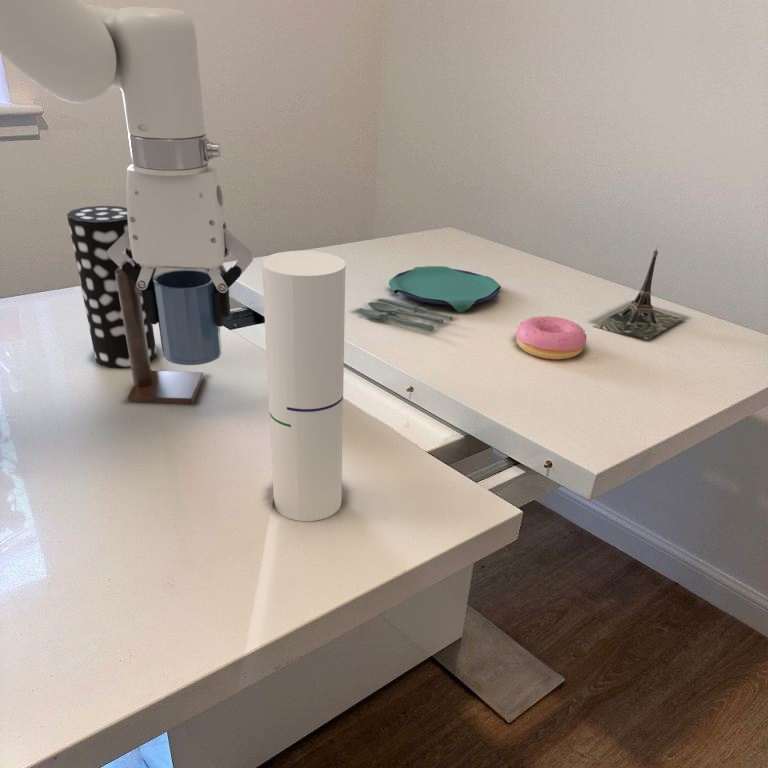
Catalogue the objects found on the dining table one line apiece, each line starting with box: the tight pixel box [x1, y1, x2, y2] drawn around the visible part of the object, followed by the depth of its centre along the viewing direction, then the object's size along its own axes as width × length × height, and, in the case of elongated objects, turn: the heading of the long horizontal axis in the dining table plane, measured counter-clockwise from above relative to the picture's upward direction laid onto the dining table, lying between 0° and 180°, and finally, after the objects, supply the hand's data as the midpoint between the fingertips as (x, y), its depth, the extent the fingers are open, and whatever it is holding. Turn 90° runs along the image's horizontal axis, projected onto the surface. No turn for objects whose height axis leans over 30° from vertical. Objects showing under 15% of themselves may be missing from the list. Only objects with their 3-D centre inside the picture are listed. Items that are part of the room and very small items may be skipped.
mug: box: [152, 269, 223, 366], centre depth 85 cm, size 11×7×9 cm, turn 1°
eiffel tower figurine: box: [592, 244, 686, 340], centre depth 121 cm, size 15×10×13 cm
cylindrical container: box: [261, 250, 346, 522], centre depth 69 cm, size 7×7×25 cm
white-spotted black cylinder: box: [66, 205, 158, 370], centre depth 97 cm, size 8×8×20 cm
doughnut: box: [515, 315, 588, 360], centre depth 112 cm, size 11×11×4 cm
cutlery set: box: [355, 265, 502, 332], centre depth 128 cm, size 20×30×2 cm, turn 148°
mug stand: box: [115, 269, 230, 405], centre depth 90 cm, size 13×8×16 cm, turn 91°
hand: (188, 320), depth 84 cm, fingers closed on mug, 6 cm apart
